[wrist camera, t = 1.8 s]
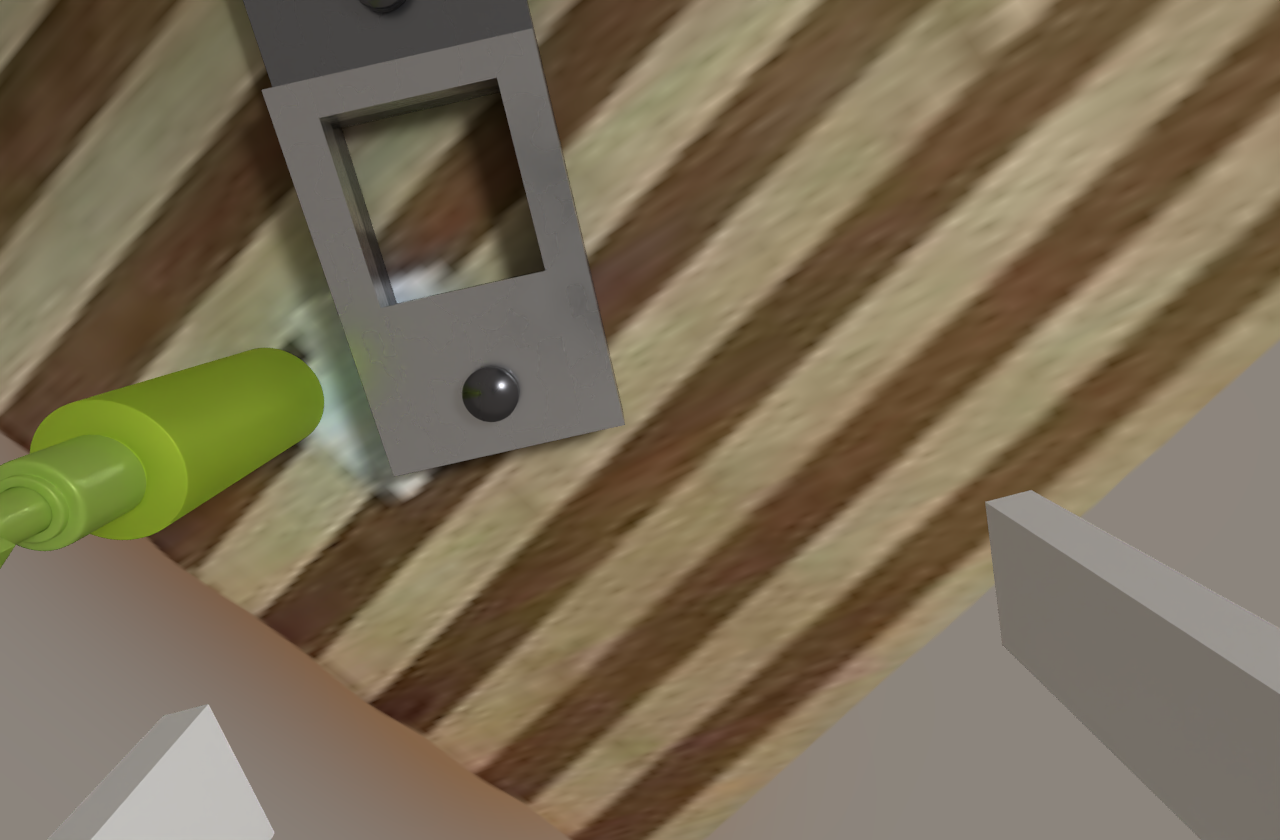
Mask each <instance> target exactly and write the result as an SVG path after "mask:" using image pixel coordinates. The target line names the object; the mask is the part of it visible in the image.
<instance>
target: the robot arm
mask: <svg viewBox="0 0 1280 840" xmlns="http://www.w3.org/2000/svg"><path fill="white" fill-rule="evenodd" d="M985 503H986V511H987V520H988V528H989V537H990V545H991V554H992V562H993V571H994V579H995V587H996V595H997V604H998V613H999V621H1000V630H1001V638H1002V645H1003V646H1004V647H1005V648H1006V649H1007V650H1008V651H1009V652H1010V653H1011V654H1012V655H1013V656H1014V657H1015V658H1016V659H1017V660H1018V661H1019V662H1020V663H1021V664H1022V665H1023V666H1024V667H1025V668H1026V669H1027V670H1029V672H1031V674H1032V675H1034V677H1036V678H1037V679H1038V680H1039V681H1040V682H1041V683H1042V684H1043V685H1044V686H1045V687H1046V688H1047V689H1048V690H1049V691H1050V692H1051V693H1052V694H1053V695H1054V696H1055V697H1056V698H1057V699H1058V700H1059V701H1060V702H1061V703H1062V704H1063V705H1064V706H1065V707H1066V708H1067V709H1068V710H1069V711H1070V712H1071V713H1072V714H1073V715H1074V716H1076V718H1077V719H1078V720H1079V721H1080V722H1082V724H1083V725H1085V726H1086V727H1087V728H1088V729H1089V730H1090V731H1091V732H1092V733H1093V734H1094V735H1095V736H1096V737H1097V738H1098V739H1099V740H1100V741H1101V742H1102V743H1103V744H1104V745H1105V746H1106V747H1107V748H1108V749H1109V750H1110V751H1111V752H1112V753H1113V754H1114V755H1115V756H1116V757H1117V758H1118V759H1119V760H1120V761H1121V762H1122V763H1123V764H1124V765H1125V766H1126V767H1127V768H1128V769H1129V770H1130V771H1131V772H1133V774H1135V775H1136V776H1137V777H1138V778H1139V779H1140V780H1141V781H1142V782H1143V783H1144V784H1145V785H1146V786H1147V787H1148V788H1149V789H1150V790H1151V791H1152V792H1153V793H1154V794H1155V795H1156V796H1157V797H1158V798H1159V799H1160V800H1161V801H1162V802H1163V803H1164V804H1165V805H1166V806H1167V807H1168V808H1169V809H1170V810H1171V811H1172V812H1173V813H1174V814H1175V815H1176V816H1177V817H1179V819H1180V820H1181V821H1183V822H1184V823H1185V824H1186V825H1187V826H1188V827H1189V828H1190V829H1191V830H1192V831H1193V832H1194V833H1195V834H1196V835H1197V836H1198V837H1199V838H1200V839H1201V840H1280V628H1278V627H1277V626H1275V625H1273V624H1271V623H1270V622H1268V621H1266V620H1264V619H1262V618H1260V617H1259V616H1257V615H1255V614H1253V613H1251V612H1250V611H1248V610H1246V609H1244V608H1242V607H1241V606H1239V605H1237V604H1235V603H1233V602H1231V601H1230V600H1228V599H1226V598H1224V597H1223V596H1221V595H1219V594H1217V593H1215V592H1214V591H1212V590H1210V589H1208V588H1206V587H1205V586H1203V585H1201V584H1199V583H1197V582H1196V581H1194V580H1192V579H1190V578H1188V577H1187V576H1185V575H1183V574H1181V573H1179V572H1178V571H1176V570H1174V569H1172V568H1170V567H1169V566H1167V565H1165V564H1163V563H1161V562H1160V561H1158V560H1156V559H1154V558H1152V557H1151V556H1149V555H1147V554H1145V553H1143V552H1142V551H1140V550H1138V549H1136V548H1134V547H1133V546H1131V545H1129V544H1127V543H1125V542H1124V541H1122V540H1120V539H1118V538H1116V537H1115V536H1113V535H1111V534H1109V533H1107V532H1106V531H1104V530H1102V529H1100V528H1098V527H1097V526H1095V525H1093V524H1091V523H1089V522H1088V521H1086V520H1084V519H1082V518H1080V517H1079V516H1077V515H1075V514H1073V513H1071V512H1070V511H1068V510H1066V509H1064V508H1062V507H1061V506H1059V505H1057V504H1055V503H1053V502H1052V501H1050V500H1048V499H1046V498H1044V497H1043V496H1041V495H1039V494H1037V493H1035V492H1034V491H1032V490H1030V491H1026V492H1022V493H1018V494H1015V495H1011V496H1007V497H1003V498H999V499H995V500H992V501H988V502H985ZM273 835H274V831H273V829H272V827H271V825H270V823H269V821H268V819H267V817H266V815H265V813H264V811H263V809H262V807H261V805H260V803H259V801H258V799H257V798H256V796H255V794H254V792H253V790H252V788H251V786H250V784H249V782H248V780H247V778H246V776H245V774H244V772H243V770H242V768H241V767H240V764H239V763H238V761H237V759H236V757H235V755H234V753H233V751H232V749H231V747H230V745H229V743H228V741H227V739H226V737H225V735H224V733H223V731H222V729H221V728H220V726H219V724H218V722H217V720H216V718H215V716H214V714H213V712H212V710H211V708H210V706H209V704H206V705H203V706H199V707H195V708H191V709H187V710H184V711H180V712H176V713H172V714H168V715H164V716H163V717H162V718H161V719H160V720H159V721H158V722H157V723H156V724H155V725H154V726H153V727H152V728H151V730H150V731H149V732H148V733H147V734H146V735H145V736H144V737H143V738H142V739H141V740H140V741H139V742H138V743H137V744H136V745H135V746H134V748H133V749H132V750H131V751H130V752H129V753H128V754H127V755H126V756H125V757H124V758H123V759H122V760H121V761H120V762H119V764H118V765H117V766H116V767H115V768H114V769H113V770H112V771H111V772H110V773H109V774H108V775H107V776H106V777H105V778H104V779H103V780H102V781H101V783H100V784H99V785H98V786H97V787H96V788H95V789H94V790H93V791H92V792H91V793H90V794H89V795H88V796H87V797H86V799H85V800H84V801H83V802H82V803H81V804H80V805H79V806H78V807H77V808H76V809H75V810H74V811H73V812H72V814H71V815H70V816H69V817H68V818H67V819H66V820H65V821H64V822H63V823H62V824H61V825H60V826H59V827H58V828H57V829H56V831H54V833H53V834H52V835H51V836H50V837H49V838H48V839H47V840H271V838H272V837H273Z"/></svg>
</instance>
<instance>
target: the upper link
mask: <svg viewBox="0 0 1280 840" xmlns="http://www.w3.org/2000/svg"><path fill="white" fill-rule="evenodd" d="M497 85H499V88H500V92H501V96H502V100H503V104H504V108H505V112H506V116H507V120H508V124H509V128H510V132H511V136H512V140H513V144H514V148H515V152H516V156H517V160H518V164H519V168H520V172H521V176H522V180H523V184H524V188H525V192H526V196H527V200H528V204H529V208H530V212H531V216H532V220H533V224H534V227H535V231H536V235H537V239H538V243H539V247H540V251H541V255H542V259H543V263H544V267H545V271H541V272H536V273H532V274H527V275H523V276H518V277H514V278H510V279H505V280H501V281H496V282H492V283H488V284H483V285H479V286H474V287H470V288H465V289H461V290H457V291H452V292H448V293H443V294H439V295H434V296H430V297H426V298H421V299H417V300H412V301H408V302H403V303H399V304H395V305H390V306H389V304H388V301H387V298H386V295H385V292H384V289H383V285H382V282H381V279H380V276H379V273H378V270H377V267H376V264H375V260H374V257H373V254H372V251H371V248H370V245H369V242H368V239H367V236H366V232H365V229H364V226H363V223H362V220H361V217H360V214H359V211H358V207H357V204H356V201H355V198H354V195H353V192H352V189H351V186H350V182H349V179H348V176H347V173H346V170H345V167H344V164H343V161H342V158H341V154H340V151H339V148H338V145H337V142H336V139H335V136H334V133H333V129H332V126H331V123H334V122H338V121H343V120H347V119H351V118H356V117H360V116H365V115H369V114H373V113H378V112H382V111H387V110H391V109H396V108H400V107H404V106H409V105H413V104H418V103H422V102H426V101H431V100H435V99H440V98H444V97H448V96H453V95H457V94H462V93H466V92H470V91H475V90H479V89H484V88H488V87H492V86H497ZM262 93H263V96H264V99H265V102H266V105H267V108H268V111H269V114H270V117H271V119H272V122H273V125H274V128H275V131H276V134H277V137H278V140H279V143H280V146H281V149H282V152H283V154H284V157H285V160H286V163H287V166H288V169H289V172H290V175H291V178H292V181H293V184H294V187H295V189H296V192H297V195H298V198H299V201H300V204H301V207H302V210H303V213H304V216H305V219H306V221H307V224H308V227H309V230H310V233H311V236H312V239H313V242H314V245H315V248H316V251H317V254H318V256H319V259H320V262H321V265H322V268H323V271H324V274H325V277H326V280H327V283H328V286H329V289H330V291H331V294H332V297H333V300H334V303H335V306H336V309H337V312H338V315H339V318H340V321H341V324H342V326H343V329H344V332H345V335H346V338H347V341H348V344H349V347H350V350H351V353H352V356H353V359H354V361H355V364H356V367H357V370H358V373H359V376H360V379H361V382H362V385H363V388H364V391H365V394H366V396H367V399H368V402H369V405H370V408H371V411H372V414H373V417H374V420H375V423H376V426H377V428H378V431H379V434H380V437H381V440H382V443H383V446H384V449H385V452H386V455H387V458H388V461H389V463H390V466H391V469H392V472H393V475H394V477H395V476H399V475H404V474H408V473H412V472H417V471H421V470H426V469H430V468H435V467H439V466H444V465H448V464H452V463H457V462H461V461H466V460H470V459H475V458H479V457H484V456H488V455H492V454H497V453H501V452H506V451H510V450H515V449H519V448H524V447H528V446H532V445H537V444H541V443H546V442H550V441H555V440H559V439H564V438H568V437H572V436H577V435H581V434H586V433H590V432H595V431H599V430H604V429H608V428H612V427H617V426H621V425H625V423H624V415H623V409H622V405H621V401H620V396H619V392H618V388H617V383H616V379H615V375H614V371H613V366H612V362H611V358H610V353H609V349H608V345H607V340H606V336H605V332H604V328H603V323H602V319H601V315H600V310H599V306H598V302H597V298H596V293H595V292H594V288H593V283H592V279H591V275H590V270H589V266H588V262H587V258H586V253H585V249H584V245H583V240H582V236H581V232H580V228H579V223H578V219H577V215H576V210H575V206H574V202H573V197H572V193H571V189H570V185H569V180H568V176H567V172H566V167H565V163H564V159H563V155H562V150H561V146H560V142H559V137H558V133H557V129H556V125H555V120H554V116H553V112H552V107H551V103H550V99H549V94H548V90H547V86H546V82H545V77H544V73H543V69H542V64H541V60H540V56H539V52H538V47H537V43H536V39H535V35H534V32H533V29H532V28H531V29H527V30H523V31H518V32H514V33H509V34H505V35H501V36H496V37H492V38H487V39H483V40H479V41H474V42H470V43H465V44H461V45H457V46H452V47H448V48H443V49H439V50H435V51H430V52H426V53H421V54H417V55H413V56H408V57H404V58H399V59H395V60H391V61H386V62H382V63H377V64H373V65H369V66H364V67H360V68H356V69H351V70H347V71H342V72H338V73H334V74H329V75H325V76H320V77H316V78H312V79H307V80H303V81H298V82H294V83H290V84H285V85H281V86H276V87H272V88H268V89H263V90H262Z"/></svg>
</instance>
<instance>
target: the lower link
mask: <svg viewBox="0 0 1280 840" xmlns="http://www.w3.org/2000/svg"><path fill="white" fill-rule="evenodd" d="M243 2H244V5H245V8H246V11H247V14H248V17H249V19H250V22H251V25H252V28H253V31H254V34H255V37H256V40H257V43H258V46H259V49H260V52H261V55H262V58H263V61H264V64H265V67H266V70H267V73H268V76H269V79H270V82H271V84H272V87H276V86H281V85H285V84H290V83H294V82H298V81H303V80H307V79H312V78H316V77H320V76H325V75H329V74H334V73H338V72H342V71H347V70H351V69H356V68H360V67H364V66H369V65H373V64H377V63H382V62H386V61H391V60H395V59H399V58H404V57H408V56H413V55H417V54H421V53H426V52H430V51H435V50H439V49H443V48H448V47H452V46H457V45H461V44H465V43H470V42H474V41H479V40H483V39H487V38H492V37H496V36H501V35H505V34H509V33H514V32H518V31H523V30H527V29H531V28H532V29H533V32H534V35H535V31H534V27H533V22H532V18H531V14H530V10H529V5H528V1H527V0H243ZM535 39H536V35H535ZM536 43H537V40H536ZM537 47H538V44H537ZM538 52H539V48H538ZM539 56H540V53H539ZM540 60H541V57H540ZM541 64H542V61H541ZM542 69H543V65H542ZM543 73H544V70H543ZM544 77H545V74H544ZM545 82H546V78H545ZM546 86H547V83H546ZM547 90H548V87H547ZM498 92H500V88H499V85H497V86H492V87H488V88H484V89H479V90H475V91H470V92H466V93H462V94H457V95H453V96H448V97H444V98H440V99H435V100H431V101H426V102H422V103H418V104H413V105H409V106H404V107H400V108H396V109H391V110H387V111H382V112H378V113H373V114H369V115H365V116H360V117H356V118H351V119H347V120H343V121H338V122H334V123H331V126H332V129H333V133H334V136H335V139H336V142H337V145H338V148H339V151H340V154H341V158H342V161H343V164H344V167H345V170H346V173H347V176H348V179H349V182H350V186H351V189H352V192H353V195H354V198H355V201H356V204H357V207H358V211H359V214H360V217H361V220H362V223H363V226H364V229H365V232H366V236H367V239H368V242H369V245H370V248H371V251H372V254H373V257H374V260H375V264H376V267H377V270H378V273H379V276H380V279H381V282H382V285H383V289H384V292H385V295H386V298H387V301H388V304H389V306H390V305H395V304H399V303H396V299H395V296H394V293H393V290H392V287H391V284H390V280H389V277H388V274H387V271H386V268H385V265H384V262H383V258H382V255H381V252H380V249H379V246H378V243H377V239H376V236H375V233H374V230H373V227H372V224H371V220H370V217H369V214H368V211H367V208H366V205H365V202H364V198H363V195H362V192H361V189H360V186H359V183H358V179H357V176H356V173H355V170H354V167H353V164H352V161H351V157H350V154H349V151H348V148H347V145H346V142H345V138H344V135H343V132H342V129H341V128H344V127H348V126H353V125H357V124H361V123H366V122H370V121H375V120H379V119H383V118H388V117H392V116H397V115H401V114H405V113H410V112H414V111H419V110H423V109H427V108H432V107H436V106H441V105H445V104H449V103H454V102H458V101H463V100H467V99H472V98H476V97H480V96H485V95H489V94H494V93H498ZM548 94H549V91H548ZM549 99H550V96H549ZM550 103H551V100H550ZM551 107H552V104H551ZM552 112H553V108H552ZM553 116H554V113H553ZM554 120H555V117H554ZM555 125H556V121H555ZM556 129H557V126H556ZM557 133H558V130H557ZM558 137H559V134H558ZM559 142H560V138H559ZM560 146H561V143H560ZM561 150H562V147H561ZM562 155H563V151H562ZM563 159H564V156H563ZM564 163H565V160H564ZM565 167H566V164H565ZM566 172H567V169H566ZM567 176H568V173H567ZM568 180H569V177H568ZM569 185H570V181H569ZM570 189H571V186H570ZM571 193H572V190H571ZM572 197H573V194H572ZM573 202H574V199H573ZM574 206H575V203H574ZM575 210H576V207H575ZM576 215H577V212H576ZM577 219H578V216H577ZM578 223H579V220H578ZM579 228H580V224H579ZM580 232H581V229H580ZM581 236H582V233H581ZM582 240H583V237H582ZM583 245H584V242H583ZM584 249H585V246H584ZM585 253H586V250H585ZM586 258H587V255H586ZM587 262H588V259H587ZM588 266H589V263H588ZM589 270H590V267H589ZM543 271H545V270H543ZM539 272H541V271H539ZM534 273H536V272H534ZM530 274H532V273H530ZM526 275H527V274H526ZM590 275H591V272H590ZM521 276H523V275H521ZM517 277H518V276H517ZM512 278H514V277H512ZM508 279H510V278H508ZM591 279H592V276H591ZM503 280H505V279H503ZM499 281H501V280H499ZM495 282H496V281H495ZM490 283H492V282H490ZM592 283H593V280H592ZM486 284H488V283H486ZM481 285H483V284H481ZM477 286H479V285H477ZM472 287H474V286H472ZM468 288H470V287H468ZM593 288H594V285H593ZM464 289H465V288H464ZM459 290H461V289H459ZM455 291H457V290H455ZM450 292H452V291H450ZM594 292H595V289H594ZM446 293H448V292H446ZM441 294H443V293H441ZM437 295H439V294H437ZM433 296H434V295H433ZM428 297H430V296H428ZM424 298H426V297H424ZM419 299H421V298H419ZM415 300H417V299H415ZM410 301H412V300H410ZM406 302H408V301H406ZM402 303H403V302H402Z"/></svg>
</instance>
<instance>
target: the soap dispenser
mask: <svg viewBox="0 0 1280 840" xmlns="http://www.w3.org/2000/svg"><path fill="white" fill-rule="evenodd" d="M323 409H324V396H323V391H322V388H321V385H320V383H319V380H318V379H317V377H316V375H315V374H314V372H313V371H312V370H311V369H310V368H309V367H308V366H307V365H306V364H305V363H304V362H303V361H302V360H300V359H299V358H297V357H296V356H294V355H292V354H290V353H288V352H285V351H282V350H279V349H273V348H258V349H253V350H249V351H246V352H242V353H239V354H235V355H232V356H229V357H225V358H222V359H218V360H215V361H212V362H208V363H205V364H201V365H198V366H195V367H191V368H188V369H185V370H181V371H178V372H174V373H171V374H168V375H164V376H161V377H157V378H154V379H151V380H147V381H144V382H140V383H137V384H134V385H130V386H127V387H123V388H120V389H117V390H113V391H110V392H106V393H103V394H100V395H96V396H93V397H89V398H86V399H83V400H79V401H76V402H73V403H70V404H67V405H64V406H62V407H60V408H58V409H57V410H55V411H54V412H52V413H51V414H50V415H48V416H47V417H46V418H45V419H44V420H43V422H42V423H41V424H40V425H39V427H38V428H37V430H36V432H35V434H34V437H33V439H32V443H31V447H30V454H28V455H25V456H23V457H20V458H17V459H14V460H12V461H9V462H7V463H4V464H2V465H0V568H1V567H2V565H3V564H4V562H5V560H6V559H7V558H8V556H9V554H10V553H11V551H12V550H13V548H14V547H15V545H18V546H21V547H23V548H27V549H31V550H38V551H51V550H57V549H60V548H63V547H66V546H68V545H70V544H72V543H74V542H76V541H78V540H79V539H81V538H83V537H85V536H87V535H88V534H92V535H95V536H98V537H102V538H107V539H114V540H131V539H138V538H143V537H147V536H150V535H152V534H155V533H157V532H159V531H160V530H162V529H164V528H165V527H167V526H168V525H170V524H172V523H173V522H175V521H176V520H178V519H179V518H181V517H182V516H184V515H186V514H187V513H189V512H190V511H192V510H193V509H195V508H196V507H198V506H200V505H201V504H203V503H204V502H206V501H207V500H209V499H210V498H212V497H214V496H215V495H217V494H218V493H220V492H221V491H223V490H224V489H226V488H228V487H229V486H231V485H232V484H234V483H235V482H237V481H239V480H240V479H242V478H243V477H245V476H246V475H248V474H249V473H251V472H253V471H254V470H256V469H257V468H259V467H260V466H262V465H263V464H265V463H267V462H268V461H270V460H271V459H273V458H274V457H276V456H277V455H279V454H281V453H282V452H284V451H285V450H287V449H288V448H290V447H291V446H293V445H295V444H296V443H298V442H299V441H301V440H302V439H304V438H305V437H307V436H308V435H309V434H311V433H312V432H313V431H314V429H315V428H316V427H317V425H318V424H319V422H320V420H321V417H322V414H323Z"/></svg>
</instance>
